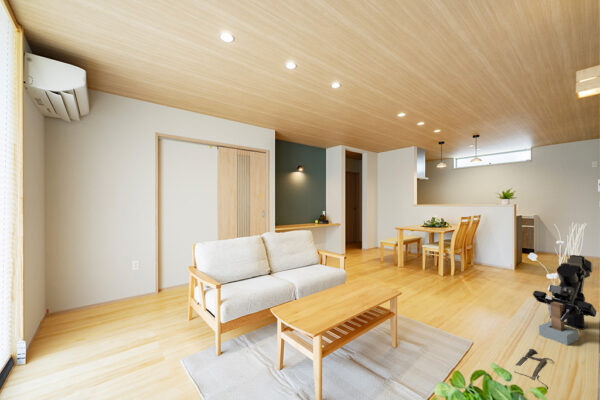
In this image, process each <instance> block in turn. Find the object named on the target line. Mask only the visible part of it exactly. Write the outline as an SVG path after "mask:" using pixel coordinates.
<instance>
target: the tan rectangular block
mask: <svg viewBox="0 0 600 400" xmlns="http://www.w3.org/2000/svg"><path fill="white" fill-rule="evenodd" d="M550 304H551V318H550V322H551V324H552V328H553V329H556V330H559V331H562V332H563V331H565V326H566V324H564V322H565V320H564V321H563V322H562V321H560V319H561V316H562V314H563V312H564V306H563V304H561V303H557V302H552V303H550Z"/></svg>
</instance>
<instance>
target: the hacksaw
mask: <svg viewBox="0 0 600 400" xmlns="http://www.w3.org/2000/svg"><path fill="white" fill-rule="evenodd" d="M537 353H538V352H537V350H536V349H534V348H529V349H528V352H526V353H525V355H524V356H522V357H521V358H520V359H519V360H518V361H517V363H515V366H517V367H518V366H519V367H520V366H522V364H523V363H524V362H525V361H526V360H527V359H528V358H529V359H532V360H535V361H539V362H538V364H537V365H536V367H535V369H534V371H533V374H532V376H529V375H527V374H524V373H520V372H517V371H514V374H517V375H521V376H525V377H527V378H529V379H531V380H532V381H536V380H537V381H538V382H539V383H541V384H542V385H544V386H545V387H546V388H547V389H546V390H549V386H548V385H546V384H544V383H543V382H542V381H541V380H539V377H540V375H539V373H540V372H541V370H542V368H543V367H545V364H546V363H547V360H551V361H550V364H552V363H553V362H554V361H553V359H551V358H549V357H542V358H540V357H535V356H533V355H536V354H537ZM526 357H528V358H526Z"/></svg>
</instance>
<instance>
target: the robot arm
mask: <svg viewBox="0 0 600 400" xmlns="http://www.w3.org/2000/svg"><path fill="white" fill-rule="evenodd" d="M566 260H567V261H566V262H561V264H560V265H558V267H557V268H556V272H557V275H558V279H559V281H560V282H559V285H554V284H549V289H548V292H549V293H551V295H552V296H551V295H548V294H547V292H544V291H541V290H534V291H533V292H532V296H533V297H534V298H535V300H536V301H537V302H539V303H542V304H546V305H547V306H548V312H549V318H550V319H551V304H550V303H552V302H557V303H561V304H563V306H564V312H563V314H562V316H561V319H560V321H562V322H563V321H564V325H565V326H566V325H567V326H570V327H571V328H572V327H573V328H574V329H579V330H584V329H586V328H589V325H588V324H585V323H586V322H585V316H586V317H588V316H590V317H593V318H594V317H596V315H597V310H596V309H595V306H594V305H593V304H592V303H590V302H586V297H585V294H584V284H585V279H587V278H590V277H591V273H593V272H594V270H593V264H592V262H591V261H590V260H589V259H587V258H586V257H585V256H583V255H579V254H576V255H575V254H570V255H569V258H568V259H566Z"/></svg>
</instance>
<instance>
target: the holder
mask: <svg viewBox="0 0 600 400" xmlns="http://www.w3.org/2000/svg"><path fill="white" fill-rule="evenodd" d="M538 333H539V334H538V335H539V336H542V337H544V338H547V339H550V340H552V341H555V342H557V343H560V344H564V345H566V346H569V345H572V344H573V343H575V342H577V341H579V330H578V329H576V328H572V327H568V326H566V325H565V331H563V332H562V331H559V330H556V329H553V328H552V324H551V321H548V322H545V323H542V324H540V325H538Z"/></svg>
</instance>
